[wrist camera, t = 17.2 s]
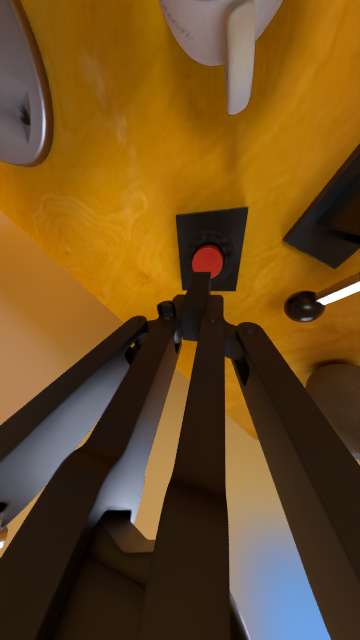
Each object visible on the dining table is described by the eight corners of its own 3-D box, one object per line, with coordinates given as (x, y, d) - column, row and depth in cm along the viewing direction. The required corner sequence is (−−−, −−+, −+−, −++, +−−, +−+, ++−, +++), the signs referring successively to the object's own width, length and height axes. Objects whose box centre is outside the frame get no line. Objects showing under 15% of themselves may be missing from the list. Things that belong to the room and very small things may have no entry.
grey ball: (284, 359, 33) (318, 442, 21) (377, 342, 25) (503, 455, 14) (298, 390, 38) (331, 469, 27) (377, 385, 31) (467, 489, 20)
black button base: (178, 214, 20) (171, 215, 18) (246, 206, 18) (250, 207, 16) (184, 286, 27) (180, 295, 24) (234, 286, 25) (236, 296, 22)
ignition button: (193, 245, 20) (191, 248, 18) (224, 243, 19) (224, 246, 17) (194, 274, 22) (192, 278, 21) (221, 273, 21) (221, 278, 20)
